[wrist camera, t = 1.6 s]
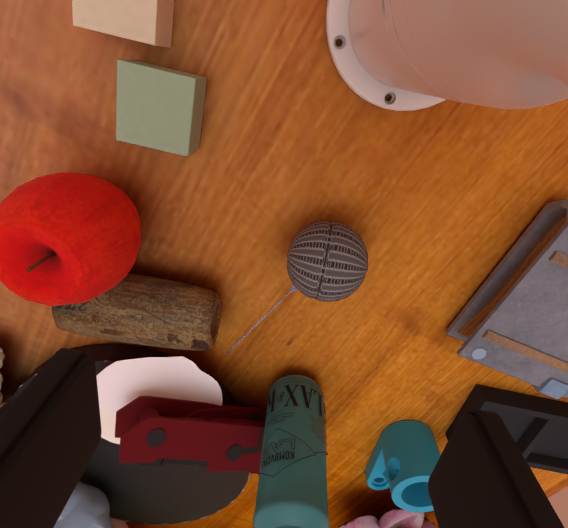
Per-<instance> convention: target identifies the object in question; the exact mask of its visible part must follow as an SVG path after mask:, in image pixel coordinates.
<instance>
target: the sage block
mask: <svg viewBox="0 0 568 528" xmlns="http://www.w3.org/2000/svg"><path fill="white" fill-rule="evenodd" d="M206 84H207V77H203V76H199V75H195V74H191V73H187V72H183V71H179V70H175V69H171V68H167V67H162V66H158V65H154V64H150V63H146V62H142V61H138V60H120V59H118V60H117V102H116V140H118V141H122V142H126V143H131V144H135V145H139V146H144V147H148V148H152V149H157V150H161V151H165V152H170V153H174V154H178V155H183V156H187V157H188V156H189V155H191V154H192V153H193V152H195V151H196V150H197V149H199V145H200V136H201V128H202V119H203V110H204V101H205V92H206Z"/></svg>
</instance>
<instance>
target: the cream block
mask: <svg viewBox="0 0 568 528" xmlns="http://www.w3.org/2000/svg"><path fill="white" fill-rule="evenodd" d="M72 11H73V25H74V26H77V27H81V28H85V29H89V30H93V31H97V32H101V33H105V34H110V35H114V36H118V37H122V38H126V39H130V40H134V41H138V42H142V43H146V44H150V45H154V46H160V47H167V48H171V41H172V27H173V13H174V0H72Z"/></svg>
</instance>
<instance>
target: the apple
mask: <svg viewBox="0 0 568 528" xmlns="http://www.w3.org/2000/svg"><path fill="white" fill-rule="evenodd" d="M140 245H141V224H140V217H139V215H138V212H137V209H136V207H135V205H134V203H133V202H132V201H131V199H130V198H129V197H128V196H127V194H126V193H125V192H123V191H122V190H120V189H119V188H118V187H116V186H115V185H113V184H112V183H111V182H108V181H106V180H103V179H101V178H98V177H96V176H92V175H85V174H76V173H57V174H51V175H46V176H42V177H38V178H36V179H34V180H31V181H29V182H27V183H25V184H23V185H21V186H19V187H17V188H16V189H15V190H14V191H13V192H12V193H11V194H10V195H9V196H8V197H7V198H6V199H4V200H3V201H2V202H1V204H0V280H1V282H2V283H3V284H4V285H5V286H6V287H7V288H8V289H9V290H10V291H12V292H14V293H15V294H17V295H19V296H20V297H22V298H24V299H26V300H28V301H32V302H36V303H40V304H44V305H48V306H60V305H68V304H75V303H83V302H87V301H90V300H92V299H94V298H96V297H98V296H100V295H101V294H103V293H105V292H106V291H108V290H110V289H111V288H113V287H115V286H116V285H117V284H118V283H119V282H120V281H122V280H123V279H124V278H125V277H126V276H127V274H128V273H129V271H130V270H131V268H132V267H133V265H134V263H135V261H136V258H137V255H138V251H139V248H140Z"/></svg>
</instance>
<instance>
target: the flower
mask: <svg viewBox="0 0 568 528" xmlns="http://www.w3.org/2000/svg"><path fill="white" fill-rule="evenodd" d="M374 516H375V514H374ZM374 516H372V515H364V516H361V517H357V518H355V519H352V520H350V521H348V522H346V523H344V524H343V525H340V526H339V527H338V528H438V527H437V526H436V525H435V524H434V523H432V522H430V521H428V520H427V518H426V517H425V515H424V512H421V513H418V512H410V511H406V510H403V509H401V510H400V509H393V510H391V511H389V512H387V513H386V511H385V514H384V515H383V516H382V517H380V519H379V521H378V520H377V519H376V517H374ZM423 520H425V521H423Z"/></svg>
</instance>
